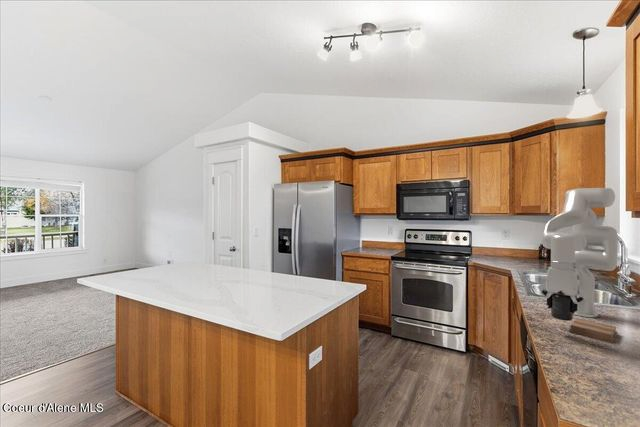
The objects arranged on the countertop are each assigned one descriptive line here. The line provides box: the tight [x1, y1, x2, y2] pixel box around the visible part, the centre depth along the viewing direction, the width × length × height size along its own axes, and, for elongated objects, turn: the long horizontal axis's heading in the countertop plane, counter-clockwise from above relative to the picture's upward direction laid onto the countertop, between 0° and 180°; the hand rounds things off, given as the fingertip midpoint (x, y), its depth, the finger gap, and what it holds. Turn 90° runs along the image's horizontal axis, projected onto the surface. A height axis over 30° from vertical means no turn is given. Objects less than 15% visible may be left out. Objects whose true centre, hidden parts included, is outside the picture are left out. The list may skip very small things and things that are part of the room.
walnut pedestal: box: [568, 317, 618, 344], centre depth 121 cm, size 13×13×3 cm
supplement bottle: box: [550, 290, 574, 322], centre depth 119 cm, size 7×7×12 cm
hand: (561, 309), depth 120 cm, fingers closed on supplement bottle, 6 cm apart
